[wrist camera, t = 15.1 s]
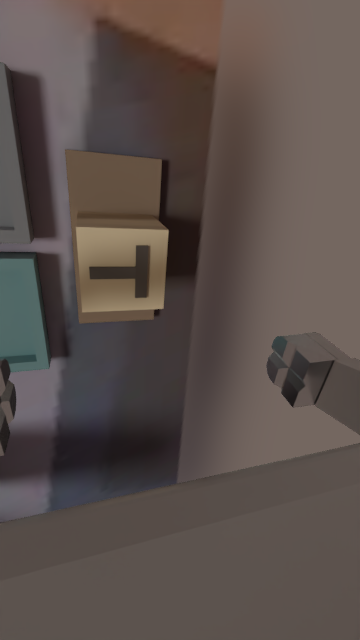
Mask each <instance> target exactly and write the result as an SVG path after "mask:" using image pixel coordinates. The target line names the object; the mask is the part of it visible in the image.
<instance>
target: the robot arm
mask: <svg viewBox="0 0 360 640" xmlns="http://www.w3.org/2000/svg"><path fill="white" fill-rule="evenodd" d="M272 349H273V350H274V352H273V353H272V354H271V356H270V357H269V358H268V362H267V373H268V376H269V378H270V380H271V381H272V382H273V383H274V384H275V385H277V386H279V387H280V388H281V393H282V395H283V396H284V397H285V398H286V399H287V401H288V402H289V403H290V405H291V406H292V407H293V408H294V407H302V406H308V405H315V406H316V407H317V408H319V409H321V410H322V411H324V412H325V413H327V414H328V415H330V416H331V417H333V418H335V419H336V420H338V421H339V422H341V423H342V424H344V425H345V426H347V427H348V428H350V429H352V430H353V431H355V432H356V433H358V434H359V435H360V360H359V359H356V358H353V359H351V358H350V357H349V356H348V355H346V354H345V353H344V352H342V351H341V350H340V349H339V348H337V347H336V346H335V345H334V344H332V343H331V342H330V341H328V340H327V339H326V338H325V337H323V336H322V335H321V334H319V333H316V332H313V333H304V334H299V335H288V336H278V337H276V338H275V340H274V341H273V344H272ZM10 372H11V370H10V366H9V363H8V361H7V360H6V359H0V456H3V455H4V454H5V451H6V447H7V443H8V439H9V435H10V431H9V427H8V424H9V423H10V422H11V421H12V420H13V419H14V415H15V411H16V392H15V387H14V384H13V383H12V382H10V381H9V380H8V379H9V375H10ZM0 640H360V443H358V444H353V445H349V446H345V447H340V448H335V449H332V450H327V451H322V452H318V453H313V454H309V455H305V456H300V457H295V458H291V459H286V460H282V461H277V462H273V463H268V464H264V465H260V466H255V467H250V468H246V469H241V470H237V471H232V472H228V473H223V474H218V475H214V476H209V477H205V478H201V479H196V480H192V481H187V482H182V483H178V484H173V485H169V486H164V487H160V488H155V489H151V490H146V491H142V492H137V493H133V494H128V495H124V496H119V497H115V498H110V499H106V500H101V501H97V502H92V503H88V504H83V505H79V506H74V507H70V508H65V509H61V510H56V511H52V512H47V513H43V514H38V515H34V516H29V517H24V518H20V519H15V520H11V521H6V522H2V523H0Z"/></svg>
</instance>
